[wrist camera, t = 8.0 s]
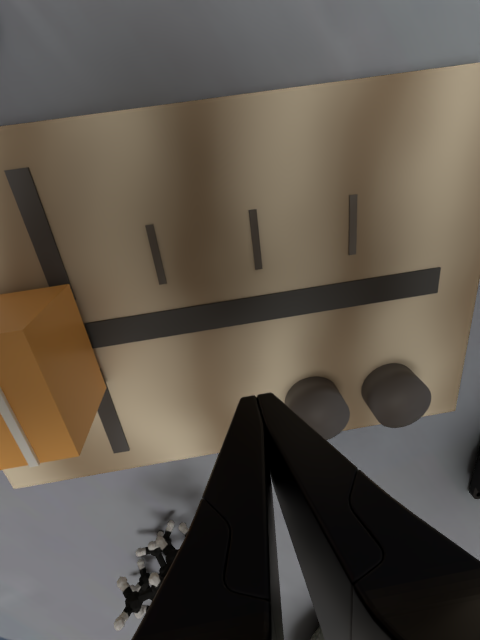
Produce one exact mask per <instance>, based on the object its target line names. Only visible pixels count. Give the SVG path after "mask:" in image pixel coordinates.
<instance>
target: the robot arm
mask: <svg viewBox="0 0 480 640" xmlns="http://www.w3.org/2000/svg"><path fill="white" fill-rule="evenodd" d="M270 475H271V476H270ZM271 479H272V483H273V486H274V489H275V492H276V495H277V498H278V501H279V504H280V507H281V510H282V513H283V516H284V519H285V522H286V525H287V528H288V531H289V534H290V537H291V540H292V543H293V546H294V549H295V552H296V555H297V558H298V561H299V564H300V567H301V570H302V573H303V576H304V579H305V582H306V585H307V588H308V591H309V594H310V597H311V600H312V603H313V606H314V609H315V612H316V615H317V618H318V621H319V624H320V627H321V630H322V633H323V636H324V639H325V640H480V561H479V560H477V559H476V558H475V557H473V556H472V555H470V554H469V553H468V552H466V551H465V550H463V549H462V548H461V547H459V546H458V545H457V544H455V543H454V542H452V541H451V540H450V539H448V538H447V537H445V536H444V535H443V534H441V533H440V532H438V531H437V530H436V529H434V528H433V527H431V526H430V525H429V524H427V523H426V522H425V521H423V520H422V519H420V518H419V517H418V516H416V515H415V514H413V513H412V512H411V511H409V510H408V509H407V508H406V507H404V506H403V505H402V504H400V503H399V502H398V501H396V500H395V499H394V498H392V497H391V496H390V495H389V494H387V493H386V492H385V491H384V490H383V489H381V488H380V487H379V486H378V485H377V484H375V483H374V482H373V481H372V480H371V479H370V478H368V477H367V476H366V475H365V474H364V473H363V472H362V471H361V470H358V468H357V467H356V466H355V465H354V464H352V463H351V462H350V461H349V460H348V459H347V458H346V457H345V456H343V455H342V454H341V453H340V452H339V451H338V450H337V449H335V448H334V447H333V446H332V445H331V444H330V443H329V442H328V441H326V440H325V439H324V438H323V437H322V436H321V435H320V434H318V433H317V432H316V431H315V430H314V429H313V428H312V427H311V426H309V425H308V424H307V423H306V422H305V421H304V420H303V419H301V418H300V417H299V416H298V415H297V414H296V413H295V412H294V411H292V410H291V409H290V408H289V407H288V406H287V405H286V404H285V403H283V402H282V401H281V400H280V399H279V398H278V397H277V396H275V395H274V394H273V393H271V392H269V393H263V394H258V395H257V397H256V396H255V395H252V396H246V397H242V398H240V400H239V403H238V405H237V408H236V411H235V413H234V416H233V418H232V421H231V424H230V426H229V429H228V431H227V434H226V437H225V439H224V442H223V444H222V447H221V449H220V452H219V455H218V457H217V460H216V462H215V465H214V468H213V470H212V473H211V475H210V478H209V481H208V483H207V486H206V488H205V491H204V493H203V496H202V498H203V499H201V501H200V503H199V506H198V509H197V511H196V514H195V516H194V518H193V521H192V523H191V526H190V528H189V530H188V533H187V535H186V537H185V539H184V541H183V543H182V545H181V547H180V549H179V551H178V553H177V555H176V557H175V559H174V561H173V563H172V565H171V567H170V569H169V571H168V573H167V574H166V576H165V578H164V580H163V582H162V584H161V586H160V588H159V589H158V591H157V593H156V595H155V597H154V599H153V601H152V603H151V605H150V606H149V608H148V610H147V612H146V614H145V616H144V618H143V620H142V621H141V623H140V625H139V627H138V629H137V631H136V632H135V634H134V636H133V638H132V640H284V636H283V623H282V610H281V597H280V584H279V572H278V559H277V546H276V533H275V520H274V508H273V495H272V484H271ZM469 493H470V494H471V495H472V496H473V497H474V498H475V499H480V447H479V451H478V455H477V460H476V464H475V468H474V472H473V477H472V481H471V485H470V489H469Z"/></svg>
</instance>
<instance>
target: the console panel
mask: <svg viewBox="0 0 480 640" xmlns="http://www.w3.org/2000/svg"><path fill="white" fill-rule="evenodd" d="M479 278H480V63H473V64H465V65H458V66H450V67H443V68H435V69H428V70H420V71H413V72H405V73H398V74H390V75H383V76H375V77H368V78H360V79H353V80H345V81H338V82H330V83H323V84H315V85H308V86H300V87H292V88H285V89H277V90H270V91H262V92H255V93H247V94H240V95H232V96H225V97H217V98H210V99H202V100H195V101H187V102H180V103H172V104H165V105H157V106H150V107H142V108H135V109H127V110H120V111H112V112H105V113H97V114H90V115H82V116H75V117H67V118H60V119H52V120H45V121H37V122H30V123H22V124H15V125H7V126H0V294H6V293H13V292H19V291H26V290H32V289H39V288H46V287H52V286H59V285H65V284H69V285H70V288H71V290H72V293H73V296H74V299H75V302H76V304H77V307H78V310H79V313H80V315H81V318H82V321H83V324H84V326H85V329H86V332H87V335H88V338H89V340H90V343H91V346H92V349H93V351H94V354H95V357H96V360H97V363H98V365H99V368H100V371H101V374H102V376H103V379H104V382H105V385H106V390H105V393H104V395H103V398H102V400H101V403H100V405H99V408H98V410H97V413H96V416H95V418H94V421H93V423H92V426H91V428H90V431H89V433H88V436H87V438H86V441H85V443H84V446H83V448H82V451H81V453H80V456H78V457H72V458H67V459H61V460H55V461H49V462H44V463H40V464H39V466H35V467H29V465H27V466H21V467H15V468H9V469H4V470H3V472H4V473H5V475H6V477H7V478H8V480H9V482H10V483H11V485H12V487H13V488H14V489H17V488H22V487H28V486H34V485H39V484H45V483H51V482H56V481H62V480H68V479H73V478H79V477H85V476H90V475H96V474H101V473H107V472H113V471H118V470H124V469H130V468H135V467H141V466H147V465H152V464H158V463H164V462H169V461H175V460H180V459H186V458H192V457H197V456H203V455H209V454H214V453H219V452H220V449H221V447H222V444H223V442H224V439H225V437H226V434H227V431H228V429H229V426H230V424H231V421H232V418H233V416H234V413H235V411H236V408H237V405H238V403H239V400H240V398H242V397H246V396H252V395H255V396H256V397H257V395H258V394H263V393H269V392H271V393H273V394H274V395H275V396H277V397H278V398H279V399H280V400H281V401H282V402H283V403H285V404H286V405H287V406H288V407H289V408H290V409H291V410H292V411H294V412H295V413H296V414H297V415H298V416H299V417H300V418H301V419H303V420H304V421H305V422H306V423H307V424H308V425H309V426H311V427H312V428H313V429H314V430H315V431H316V432H317V433H318V434H320V435H321V436H322V437H323V438H324V439H325V440H328V439H331V438H333V437H335V436H336V435H338V434H339V433H340V432H341V431H344V430H350V429H355V428H361V427H367V426H372V425H378V424H382V425H384V426H386V427H391V428H398V427H404V426H407V425H410V424H412V423H414V422H415V421H417V420H418V419H419V418H421V417H423V416H429V415H434V414H440V413H446V412H451V411H455V409H456V404H457V398H458V393H459V387H460V382H461V376H462V371H463V365H464V360H465V354H466V349H467V344H468V338H469V333H470V327H471V322H472V316H473V311H474V305H475V300H476V294H477V289H478V284H479Z"/></svg>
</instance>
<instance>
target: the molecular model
mask: <svg viewBox="0 0 480 640" xmlns="http://www.w3.org/2000/svg"><path fill="white" fill-rule="evenodd" d="M174 523H175V522H174V521H172V520H170V521H169V522H168V524H167V525H168V526H167V528H166V531H165V534H164V532H162V531H159V532H158V534H157V538H156V541H151V542H150V543H149V544H148V547H145V548H142V549H141V548H138V550H137V551H136V556H138V557H140V556H142V555H147V554H151V555H153V556H156V558H157V560H158V562H159V564H160V566H161V568H160V570H159V571H160V574H158V573H152V574H151V575H150V574H149V573H146V568H145V565H144V560H143V559H139V561H138V562H137V564H138V567H139V570H140V574H141V577H140V579H139V580H140V582H139V583H138V584H137V585H136V586H134V585H131V586H130V585H129V584H128V583H127V579H126V577H120V578H119V579H118V581H117V586H118V587H119V588H120V589H121V590H122V591H123V594H124V596H125V598H127V599H126V601H125V604H126V607H125V609H124V610H123V612H122V614H121V615H120V616H119V617H118V618H117V619H116V621H115V623H114V627H115V629H116V630H117V631H119V630H121V629H122V628H123V627H124V625H125V622H126V621H127V619H128V618H129V616H130V614H131V613H132V612H134V615H135V616H136V617H137V619H139V618H142V616H143V615H144V612H147V610H148V608H149V606H148V605H142V603H143V601H145V600H147V599H151V600H152V601H153V599H154V597H155V595H156V593H157V591H158V589H159V588H160V586H161V584H162V582H163V580H164V578H165V576H166V574H167V573H168V571H169V569H170V567H171V565H172V563H173V561H174V559H175V557H176V555H177V553H178V551H179V549H178V550H176V549H175V548H174V547H173V546H172V545H171V539H170V538H169V537H170V535H171V532H172V530H173V527H174ZM179 530H180V531H181V532H183V534H184V535H185V537H186V535H187V533H188V530H189V529H188V528H187V527H186V524H185V523H181V524H180V525H179ZM161 552H163V553H164V554H165V555H166V562H165V560H164V558H163V556H162V553H161ZM166 563H167V564H166ZM149 584H151V585H152V586H151V587H150V586H149Z"/></svg>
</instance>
